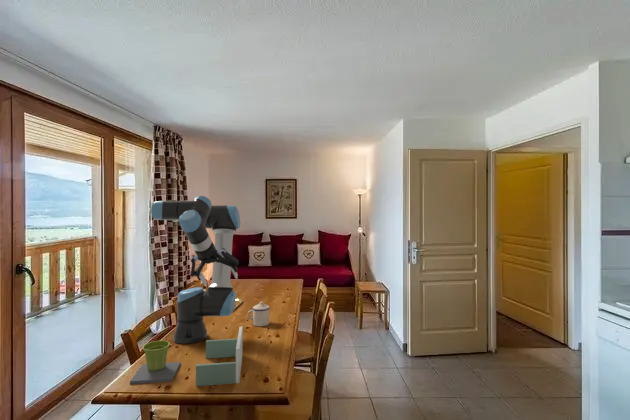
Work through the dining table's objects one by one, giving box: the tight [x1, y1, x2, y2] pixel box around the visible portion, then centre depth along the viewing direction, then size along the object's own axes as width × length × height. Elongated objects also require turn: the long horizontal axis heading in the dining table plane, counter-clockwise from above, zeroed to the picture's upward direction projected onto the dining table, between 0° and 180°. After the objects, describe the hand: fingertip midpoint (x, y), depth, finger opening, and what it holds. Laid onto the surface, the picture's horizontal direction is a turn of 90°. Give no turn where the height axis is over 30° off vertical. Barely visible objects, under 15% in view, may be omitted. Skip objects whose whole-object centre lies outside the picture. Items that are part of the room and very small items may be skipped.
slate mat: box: [129, 361, 181, 385], centre depth 131 cm, size 14×14×1 cm
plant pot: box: [142, 340, 171, 371], centre depth 134 cm, size 9×9×9 cm
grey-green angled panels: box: [195, 326, 244, 387], centre depth 135 cm, size 15×24×12 cm, turn 9°
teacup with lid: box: [247, 301, 271, 327], centre depth 189 cm, size 12×9×12 cm
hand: (221, 280), depth 152 cm, fingers open, 13 cm apart
